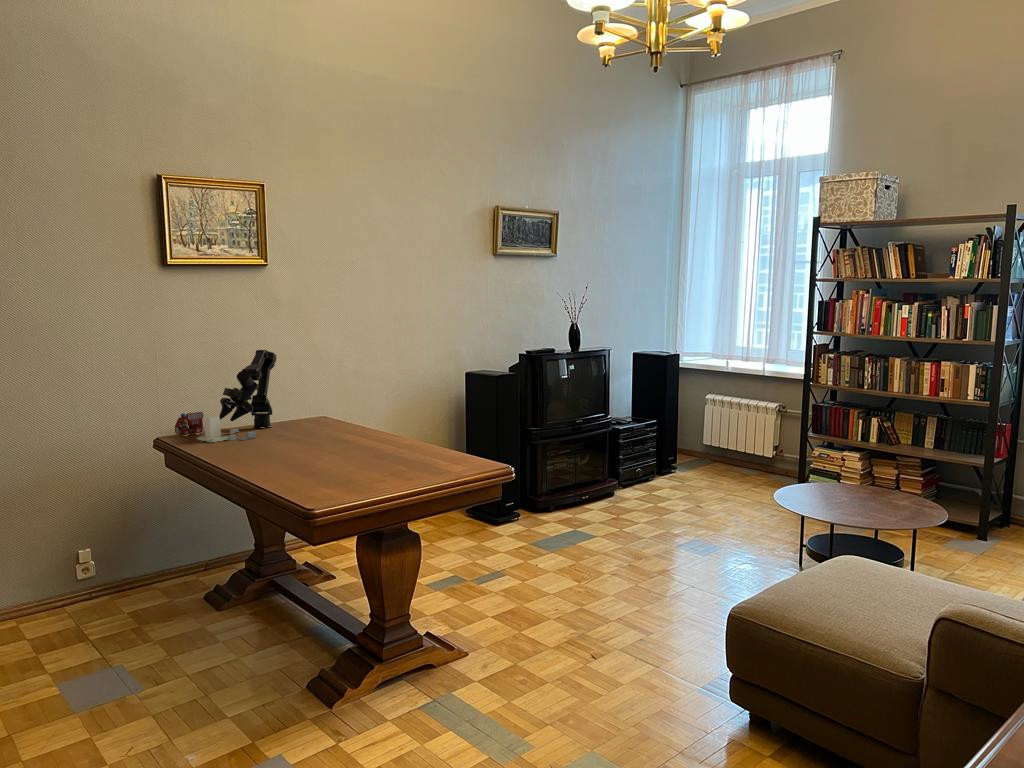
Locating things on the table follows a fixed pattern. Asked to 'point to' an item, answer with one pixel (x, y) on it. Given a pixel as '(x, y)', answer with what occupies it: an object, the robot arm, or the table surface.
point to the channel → (249, 436)
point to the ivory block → (212, 427)
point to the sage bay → (213, 439)
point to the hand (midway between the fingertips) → (225, 419)
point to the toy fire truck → (189, 423)
